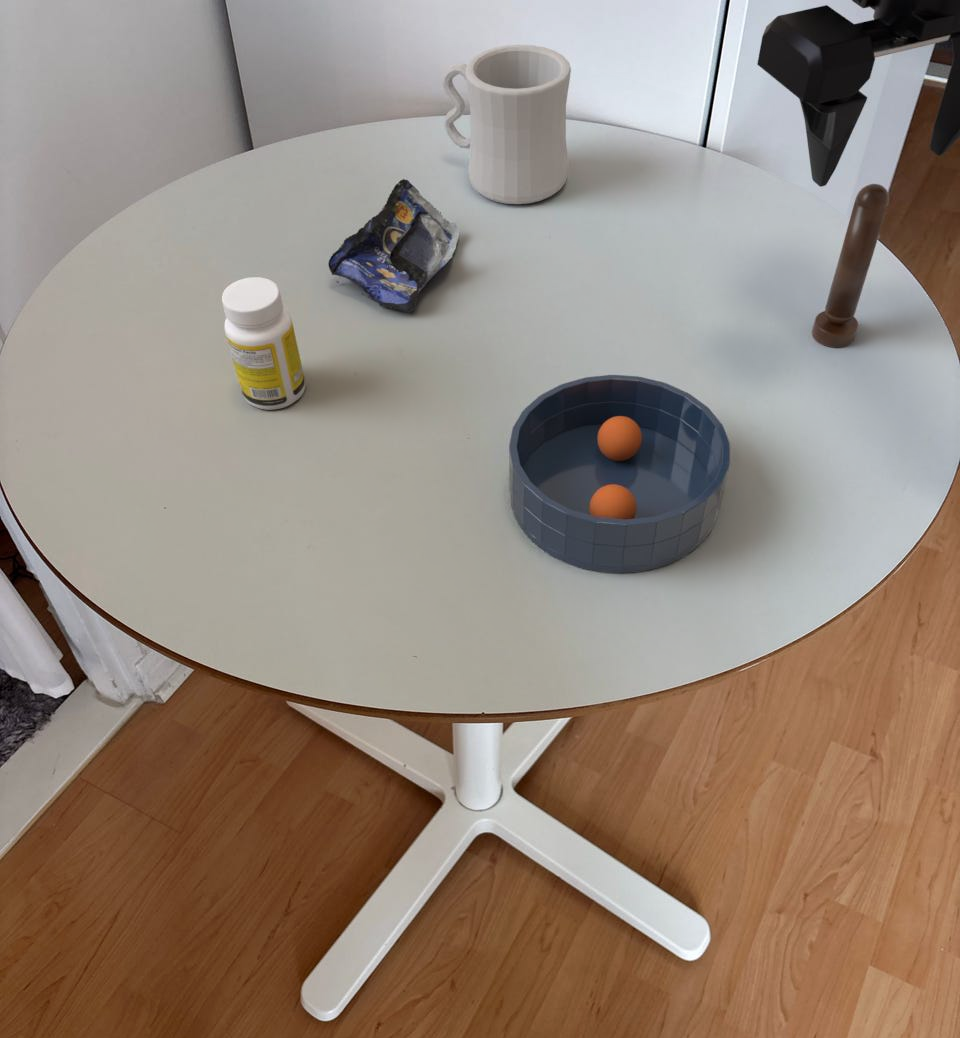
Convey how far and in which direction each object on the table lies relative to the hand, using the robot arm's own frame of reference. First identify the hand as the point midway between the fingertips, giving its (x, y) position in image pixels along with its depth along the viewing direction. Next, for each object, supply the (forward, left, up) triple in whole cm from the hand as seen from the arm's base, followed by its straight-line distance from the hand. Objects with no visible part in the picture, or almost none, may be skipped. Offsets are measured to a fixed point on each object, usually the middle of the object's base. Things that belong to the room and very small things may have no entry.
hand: (878, 167), depth 68 cm
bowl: (+15, +19, -13) cm, 28 cm away
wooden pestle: (0, 0, -13) cm, 13 cm away
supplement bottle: (+41, +11, -14) cm, 45 cm away
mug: (+28, -21, -14) cm, 38 cm away
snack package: (+34, -5, -14) cm, 37 cm away
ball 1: (+15, +16, -11) cm, 25 cm away
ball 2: (+15, +22, -11) cm, 29 cm away
